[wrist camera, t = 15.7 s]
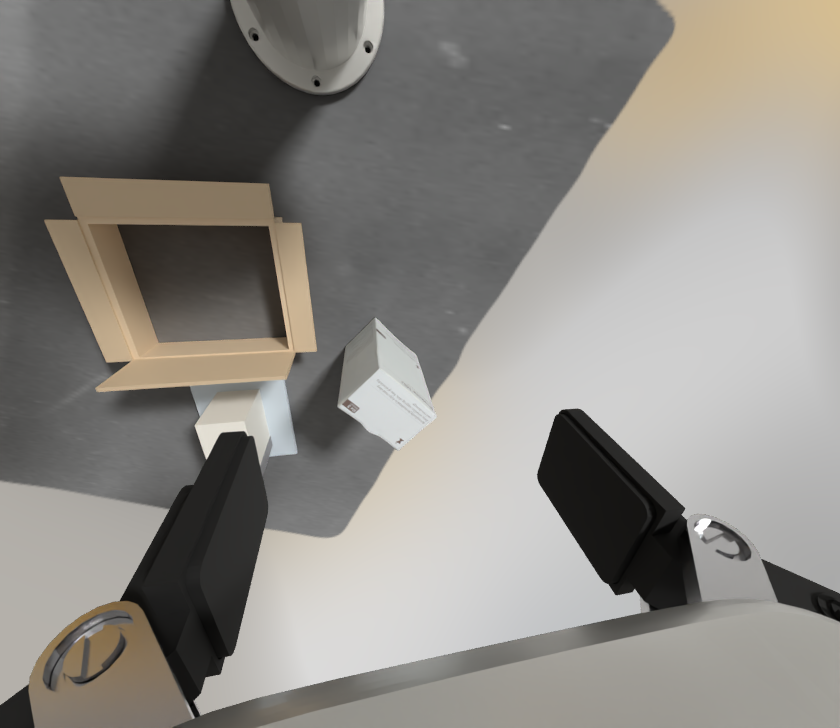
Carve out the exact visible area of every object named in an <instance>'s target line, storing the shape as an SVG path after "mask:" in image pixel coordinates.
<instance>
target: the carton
mask: <svg viewBox="0 0 840 728" xmlns="http://www.w3.org/2000/svg"><path fill="white" fill-rule="evenodd" d="M59 178H60V180H61V183H62V185H63V188H64V190H65V193H66V195H67V198H68V200H69V203H70V205H71V208H72V210H73V213H74V215H75V216H77V218H78V220H48V219H47V220H44V222H45V224H46V226H47V228H48V231H49V233H50V235H51V237H52V240H53V242H54V244H55V247H56V249H57V251H58V253H59V256H60V258H61V260H62V262H63V265H64V267H65V269H66V272H67V274H68V276H69V278H70V281H71V283H72V285H73V287H74V290H75V292H76V294H77V296H78V299H79V301H80V303H81V306H82V308H83V310H84V312H85V315H86V317H87V319H88V321H89V324H90V326H91V328H92V331H93V333H94V335H95V337H96V340H97V342H98V344H99V346H100V349H101V351H102V353H103V356H104V358H105V360H106V362H126V361H131V362H130V363H128V364H127V365H126V366H124V367H123V368H122V369H120V370H119V371H118V372H116V373H115V374H114V375H112V376H111V377H110V378H108V379H107V380H106V381H104V382H103V383H102V384H100V385H99V386H98V387H96V388H95V389H96V391H97V392H105V391H120V390H135V389H150V388H165V387H180V386H195V385H210V384H225V383H240V382H255V381H270V380H285V379H287V377H288V374H289V371H290V369H291V366H292V363H293V360H294V357H295V354H296V352H315V351H317V346H316V338H315V330H314V322H313V314H312V306H311V298H310V290H309V282H308V274H307V266H306V258H305V250H304V241H303V233H302V225H301V223H283V222H282V217H274V212H273V205H272V199H271V192H270V186H269V184H264V183H234V182H204V181H175V180H145V179H115V178H86V177H59ZM117 224H138V225H220V226H269V231H270V237H271V243H272V249H273V255H274V261H275V267H276V273H277V279H278V285H279V291H280V297H281V304H282V310H283V316H284V322H285V328H286V334H287V337H279V338H256V339H234V340H211V341H189V342H167V343H158V340H157V337H156V334H155V331H154V328H153V326H152V323H151V320H150V317H149V314H148V311H147V309H146V306H145V303H144V300H143V297H142V294H141V292H140V289H139V286H138V283H137V280H136V277H135V274H134V272H133V269H132V266H131V263H130V260H129V257H128V255H127V252H126V249H125V246H124V243H123V240H122V238H121V235H120V232H119V229H118V226H117Z"/></svg>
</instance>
